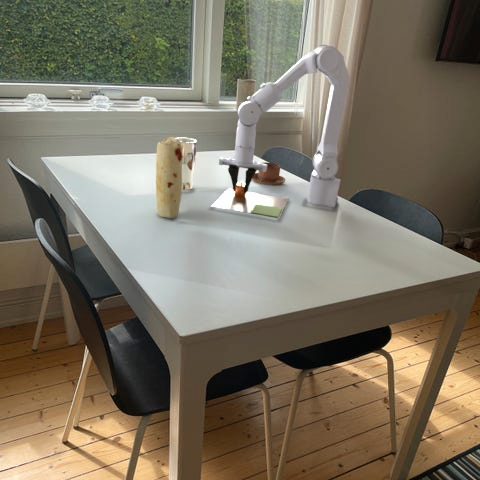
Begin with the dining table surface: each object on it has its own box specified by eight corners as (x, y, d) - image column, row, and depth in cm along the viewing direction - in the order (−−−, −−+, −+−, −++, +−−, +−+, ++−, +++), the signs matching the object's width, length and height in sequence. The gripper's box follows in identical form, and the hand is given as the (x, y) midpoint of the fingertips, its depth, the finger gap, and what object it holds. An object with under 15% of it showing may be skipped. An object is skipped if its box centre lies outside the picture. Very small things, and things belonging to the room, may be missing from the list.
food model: (184, 221, 129) (187, 143, 118) (159, 221, 127) (160, 142, 116) (177, 208, 137) (179, 134, 126) (153, 208, 135) (154, 133, 124)
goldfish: (238, 190, 154) (239, 178, 152) (246, 192, 153) (248, 179, 151) (233, 196, 148) (234, 183, 146) (242, 197, 148) (243, 185, 146)
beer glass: (196, 187, 155) (198, 139, 148) (192, 194, 149) (194, 143, 142) (174, 185, 156) (176, 136, 148) (170, 191, 150) (171, 140, 142)
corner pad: (282, 209, 143) (282, 208, 143) (277, 217, 136) (277, 216, 136) (255, 204, 144) (255, 203, 144) (250, 212, 137) (250, 211, 137)
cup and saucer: (285, 189, 164) (288, 171, 160) (250, 186, 163) (252, 167, 160) (283, 180, 174) (286, 162, 171) (250, 176, 173) (252, 159, 170)
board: (288, 201, 153) (289, 198, 152) (278, 221, 136) (279, 218, 135) (227, 191, 156) (228, 188, 155) (210, 209, 139) (210, 206, 138)
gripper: (217, 144, 141) (214, 190, 148) (266, 152, 139) (260, 198, 146) (223, 140, 147) (220, 185, 154) (270, 147, 145) (264, 192, 152)
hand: (240, 191), depth 150 cm, fingers open, 3 cm apart
